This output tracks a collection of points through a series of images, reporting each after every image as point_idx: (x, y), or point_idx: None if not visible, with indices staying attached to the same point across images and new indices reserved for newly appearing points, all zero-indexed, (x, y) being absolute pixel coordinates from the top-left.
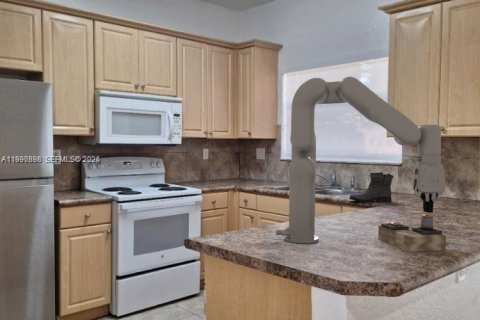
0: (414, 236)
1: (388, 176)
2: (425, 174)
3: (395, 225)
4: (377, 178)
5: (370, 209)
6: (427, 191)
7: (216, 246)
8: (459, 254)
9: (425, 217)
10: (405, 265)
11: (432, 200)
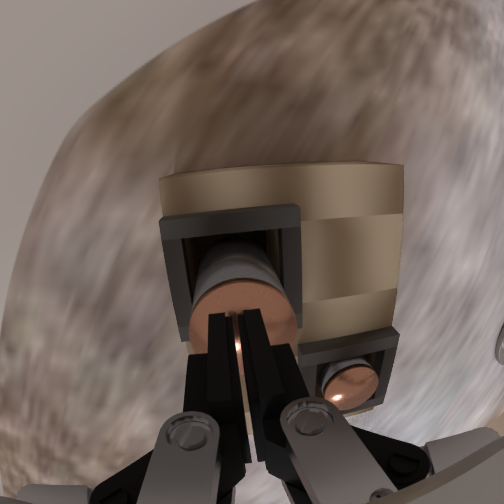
0: (372, 168)
1: None
2: None
3: (364, 363)
4: None
5: None
6: (470, 482)
7: None
8: (156, 93)
9: (281, 290)
10: (442, 19)
11: (214, 419)
